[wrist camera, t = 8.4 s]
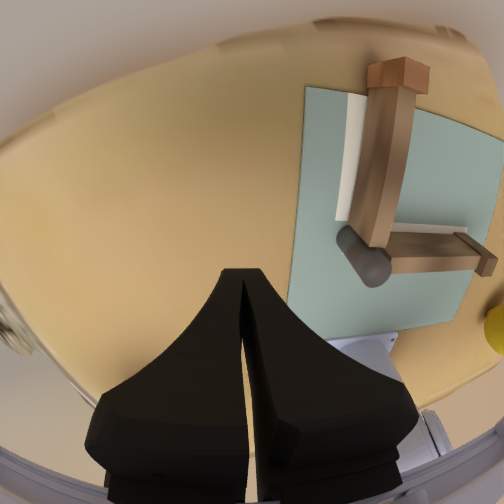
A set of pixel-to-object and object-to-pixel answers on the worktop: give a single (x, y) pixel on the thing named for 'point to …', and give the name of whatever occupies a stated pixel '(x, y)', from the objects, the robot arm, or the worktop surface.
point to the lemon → (495, 328)
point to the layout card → (406, 220)
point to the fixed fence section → (414, 255)
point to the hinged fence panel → (385, 145)
